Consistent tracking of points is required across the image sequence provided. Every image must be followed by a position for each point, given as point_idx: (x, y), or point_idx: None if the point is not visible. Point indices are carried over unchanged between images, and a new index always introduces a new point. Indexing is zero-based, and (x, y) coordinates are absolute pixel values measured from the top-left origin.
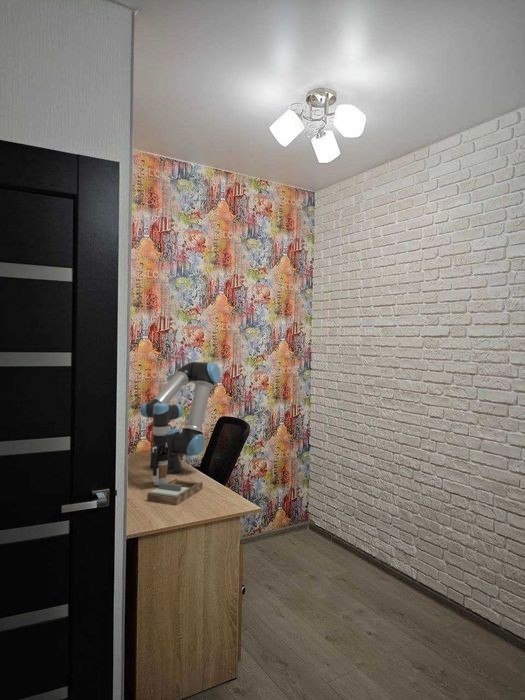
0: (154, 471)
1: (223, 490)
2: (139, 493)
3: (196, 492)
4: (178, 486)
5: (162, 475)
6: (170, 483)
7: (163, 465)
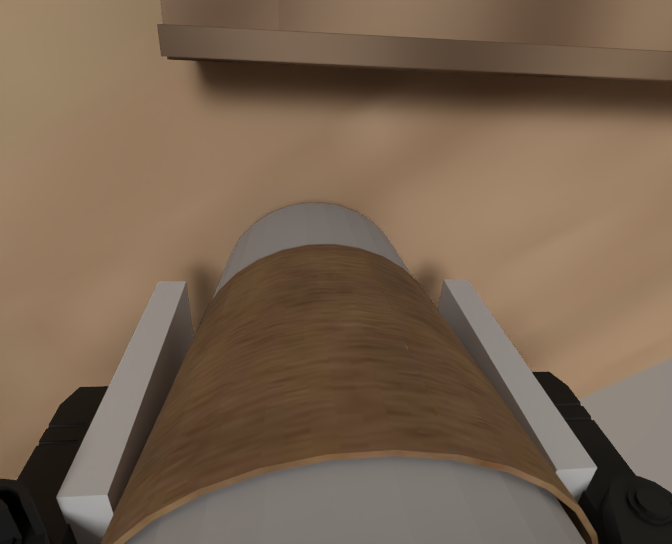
0: (603, 458)
1: None
2: (650, 319)
3: None
4: None
5: (422, 293)
6: (468, 29)
7: (538, 478)
